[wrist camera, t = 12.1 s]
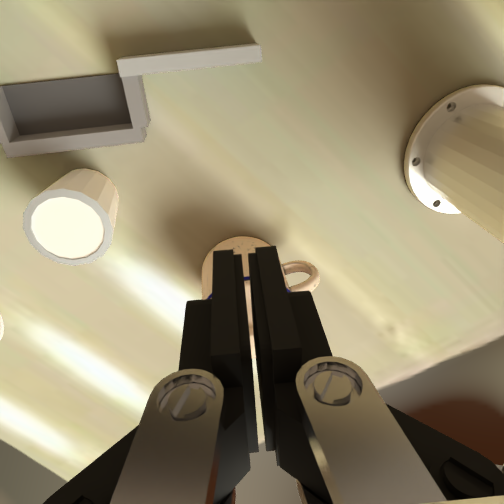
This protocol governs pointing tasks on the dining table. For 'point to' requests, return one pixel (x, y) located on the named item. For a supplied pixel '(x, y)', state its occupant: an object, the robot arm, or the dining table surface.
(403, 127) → the dining table surface
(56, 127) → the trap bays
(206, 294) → the teacup with lid
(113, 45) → the dining table surface
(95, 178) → the shot glass
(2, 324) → the spoon
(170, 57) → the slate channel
